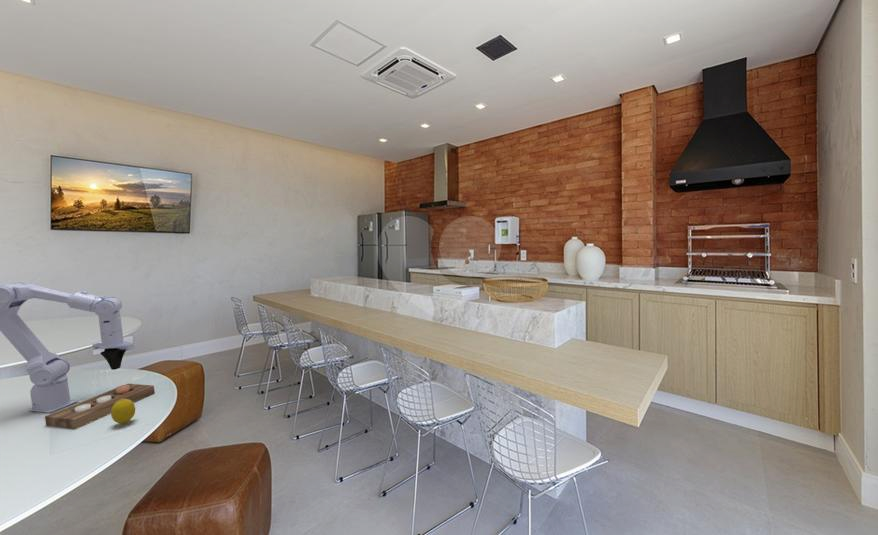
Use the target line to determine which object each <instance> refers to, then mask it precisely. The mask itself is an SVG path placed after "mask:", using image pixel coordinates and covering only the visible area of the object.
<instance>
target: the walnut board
mask: <svg viewBox="0 0 878 535" xmlns="http://www.w3.org/2000/svg"><path fill="white" fill-rule="evenodd" d="M125 385H130V392H127V393H125V394H123V395H117V394H116V388H113V389H111V390H108V391H107V392H103V393H100V394H98V395H96V396H93V397H91V398H87V399H86V400H83V401H80V402H76V403H74V404H71V405H69V406H66V407H64V408H61V409H59V410H56V411H54V412H53V413H52V412H51V413H49V414H48V415H45V416H44V420H45V421H44V422H45V426H47V427H55V428H62V429H63V428H65V429H71V430H77V429H79V428H82V427H83V426H85V424H86V425H88V424H90V423H92V422H94V420H95V421H97V420H99V419H101V418H103V417H105V415H106V416H108V415H111V410H112V407H113V405H114V404H115V403H116V402H117V401H119V400H120V399H129V400H131V401H132V402H135V403H137V402H139V401H141V400H143V399H145V397H146V398H148V397H150V396H152V395H154V393H155V394H156V392H155V386H154V384H153V385H152V384H139V383H125ZM107 395H111V400H108V401H106V402H103V403H97V400H96V399H98V398H100V397H102V396H107ZM138 400H139V401H138ZM136 401H137V402H136ZM83 404H91V408H89V409H87V410H84V411H82V412H75V407H77V406H80V405H83ZM107 414H108V415H107ZM98 418H99V419H98ZM96 419H97V420H96ZM91 421H92V422H91ZM89 422H90V423H89ZM87 423H88V424H87ZM78 427H79V428H78Z"/></svg>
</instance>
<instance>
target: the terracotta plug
mask: <svg viewBox="0 0 878 535" xmlns="http://www.w3.org/2000/svg"><path fill="white" fill-rule="evenodd" d="M115 389H116V394H117V395H123V394H125V393H127V392H130V385H126V384H122V385H118V386H117V387H116V388H115Z"/></svg>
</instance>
